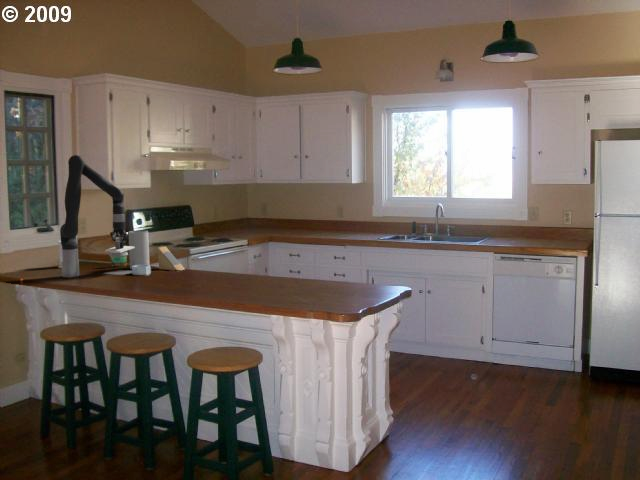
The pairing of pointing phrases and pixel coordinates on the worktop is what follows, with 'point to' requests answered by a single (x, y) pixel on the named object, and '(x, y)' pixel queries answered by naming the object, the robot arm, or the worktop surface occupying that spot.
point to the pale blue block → (141, 270)
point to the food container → (118, 259)
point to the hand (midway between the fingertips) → (119, 248)
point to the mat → (119, 272)
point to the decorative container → (60, 254)
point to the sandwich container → (168, 260)
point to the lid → (119, 248)
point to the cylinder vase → (139, 248)
